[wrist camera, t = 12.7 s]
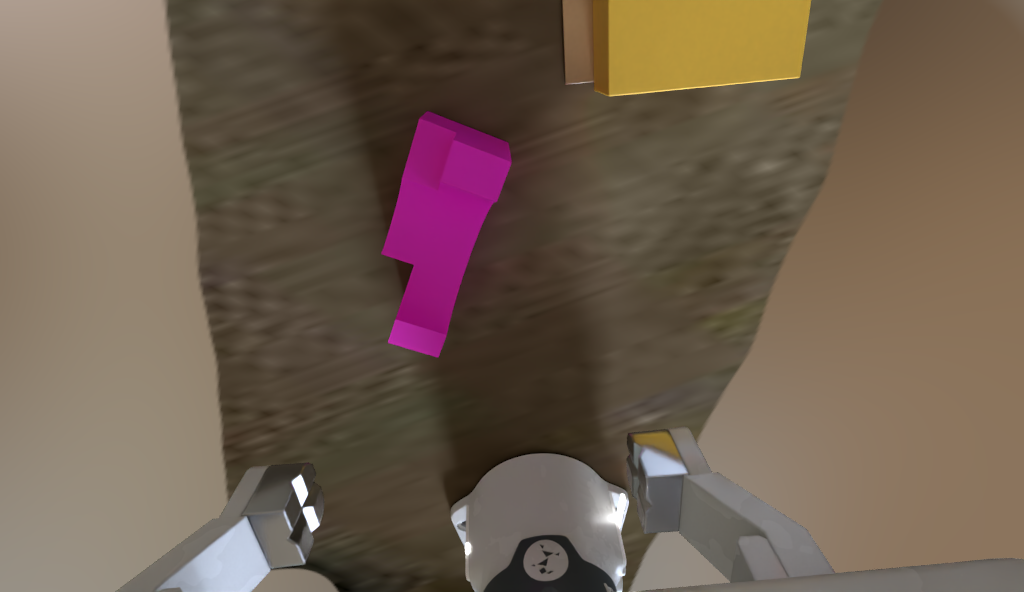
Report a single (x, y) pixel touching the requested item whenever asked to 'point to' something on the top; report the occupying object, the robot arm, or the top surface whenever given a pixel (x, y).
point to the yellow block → (695, 43)
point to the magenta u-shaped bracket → (441, 222)
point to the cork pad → (578, 41)
